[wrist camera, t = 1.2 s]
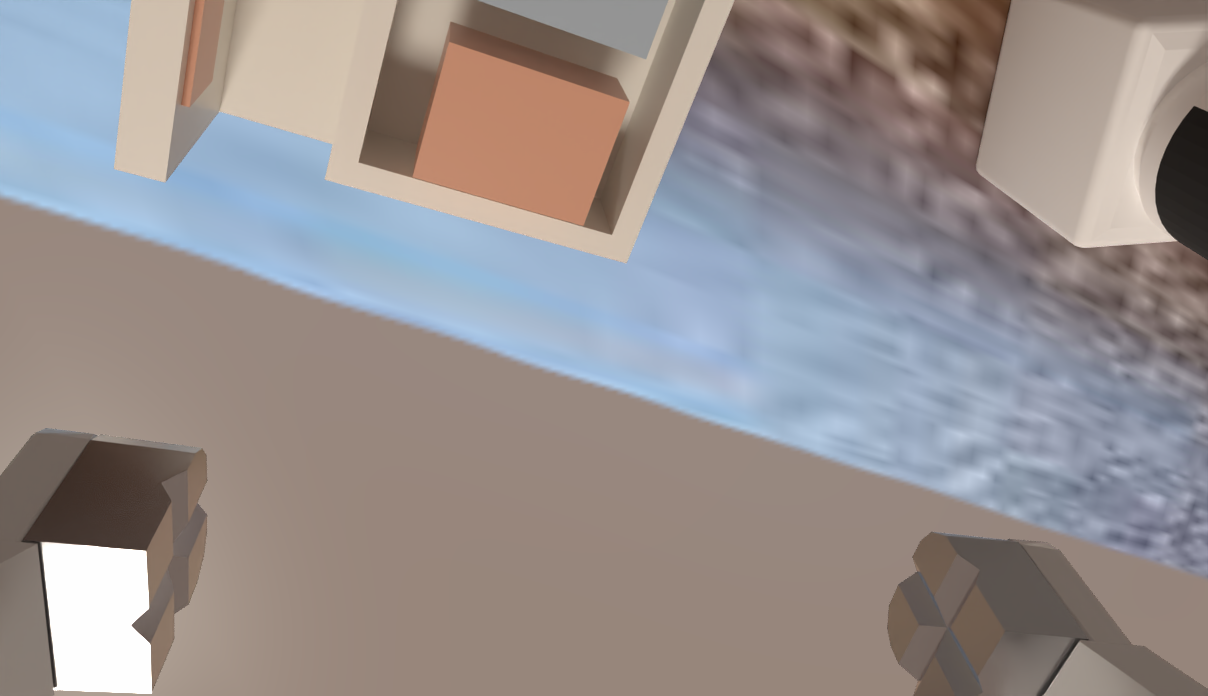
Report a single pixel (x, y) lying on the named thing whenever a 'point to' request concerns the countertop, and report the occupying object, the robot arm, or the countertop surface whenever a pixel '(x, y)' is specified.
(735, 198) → the countertop surface
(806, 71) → the countertop surface
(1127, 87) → the medicine bottle
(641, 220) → the cream open box
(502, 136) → the terracotta key
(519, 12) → the slate key
